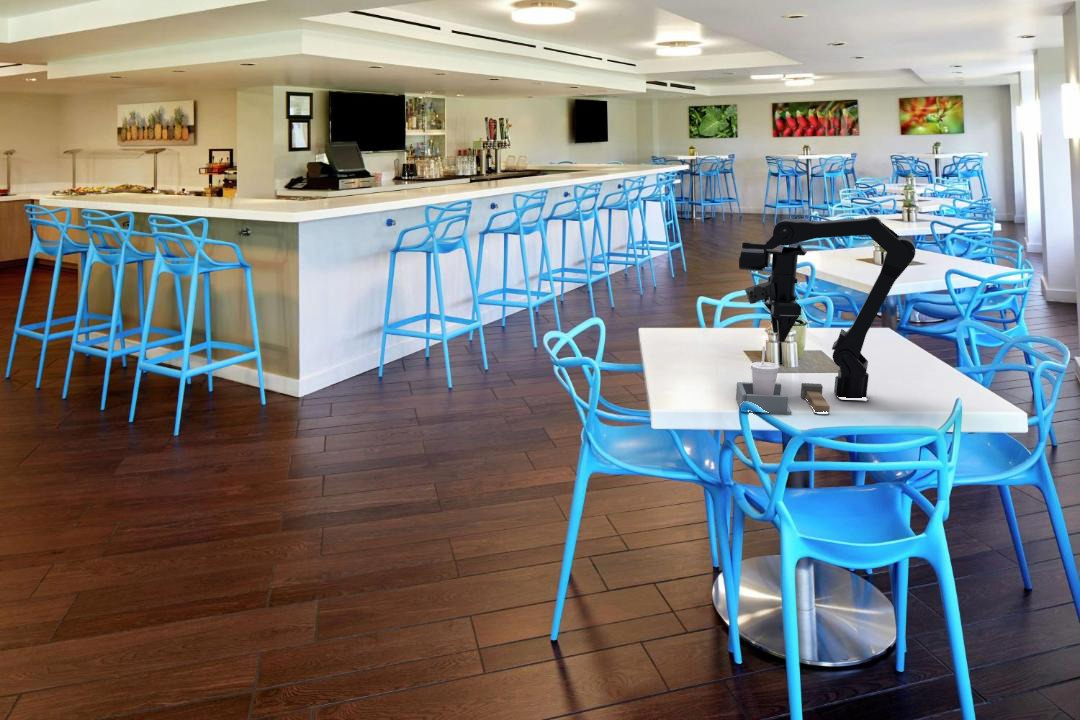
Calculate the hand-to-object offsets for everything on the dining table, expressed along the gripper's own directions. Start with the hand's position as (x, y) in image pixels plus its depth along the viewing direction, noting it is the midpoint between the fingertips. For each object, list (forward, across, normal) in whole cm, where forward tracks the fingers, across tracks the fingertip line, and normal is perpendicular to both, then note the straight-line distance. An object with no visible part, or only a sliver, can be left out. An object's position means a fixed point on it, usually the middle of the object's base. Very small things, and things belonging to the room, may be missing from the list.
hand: (778, 337), depth 205 cm
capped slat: (+13, +13, +8) cm, 20 cm away
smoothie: (+13, +14, -5) cm, 20 cm away
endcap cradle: (+13, +14, -5) cm, 20 cm away
